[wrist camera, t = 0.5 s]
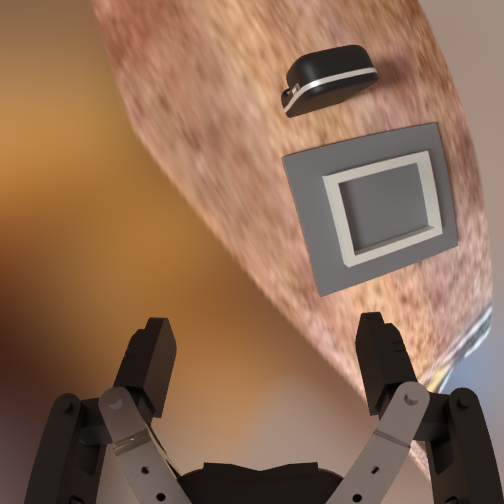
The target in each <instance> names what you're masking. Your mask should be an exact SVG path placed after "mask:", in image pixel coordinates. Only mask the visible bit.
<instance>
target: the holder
mask: <svg viewBox="0 0 504 504" xmlns="http://www.w3.org/2000/svg"><path fill="white" fill-rule="evenodd" d="M281 159H282V162H283V166H284V169H285V172H286V176H287V179H288V183H289V186H290V190H291V193H292V196H293V200H294V204H295V207H296V211H297V214H298V218H299V222H300V225H301V229H302V233H303V236H304V240H305V244H306V248H307V251H308V255H309V259H310V263H311V267H312V271H313V275H314V279H315V283H316V287H317V291H318V294H319V295H320V297H322V296H325V295H328V294H331V293H334V292H337V291H340V290H343V289H346V288H349V287H351V286H354V285H357V284H360V283H363V282H366V281H368V280H371V279H374V278H377V277H379V276H382V275H385V274H387V273H390V272H393V271H395V270H398V269H401V268H403V267H406V266H409V265H411V264H414V263H416V262H419V261H421V260H424V259H427V258H429V257H432V256H434V255H437V254H439V253H442V252H444V251H446V250H449V249H451V248H454V247H456V246H458V241H457V231H456V222H455V215H454V207H453V200H452V194H451V188H450V182H449V177H448V171H447V166H446V161H445V157H444V152H443V148H442V143H441V139H440V135H439V131H438V127H437V124H436V123H432V124H426V125H420V126H415V127H410V128H404V129H399V130H394V131H389V132H384V133H380V134H375V135H370V136H366V137H361V138H357V139H352V140H348V141H344V142H340V143H336V144H331V145H327V146H323V147H319V148H315V149H312V150H308V151H304V152H300V153H296V154H293V155H289V156H285V157H282V158H281Z"/></svg>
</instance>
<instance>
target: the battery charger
mask: <svg viewBox="0 0 504 504" xmlns="http://www.w3.org/2000/svg"><path fill="white" fill-rule="evenodd" d="M286 80H287V83H288V86H289V89H286V90H285V91H284V92H283V93H282V95H281V101H282V105H283V108H284V112H285V113H286V115H287V117H289V118H291V117H294V116H298V115H301V114H304V113H307V112H311V111H314V110H318V109H321V108H324V107H328V106H331V105H335V104H338V103H341V102H342V101H344V100H346V99H347V98H349V97H351V96H353V95H354V94H356V93H358V92H360V91H362V90H363V89H365V88H367V87H369V86H370V85H372V84H374V83H375V82H377V80H378V76H377V71H376V68H374V66H373V64H372V62H371V60H370V57H369V55H368V53H367V52H366V50H365V49H364V48H363V47H361V46H359V45H347V46H342V47H336V48H331V49H327V50H322V51H318V52H313V53H309V54H306V55H303V56H301V57H300V58H299V59H297V60H296V61H295V62H294V64H293V65H292V66H291V68H290V69H289V71H288V73H287V75H286Z"/></svg>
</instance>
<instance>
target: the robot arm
mask: <svg viewBox="0 0 504 504" xmlns="http://www.w3.org/2000/svg"><path fill="white" fill-rule="evenodd" d="M355 347H356V353H357V357H358V362H359V366H360V370H361V375H362V379H363V384H364V388H365V393H366V397H367V402H368V407H369V412H370V416H372V415H378V416H379V420H380V422H379V424H378V426H377V427H376V429H375V430H374V432H373V434H372V436H371V437H370V439H369V441H368V442H367V444H366V446H365V447H364V449H363V450H362V452H361V453H360V455H359V457H358V458H357V460H356V461H355V463H354V464H353V466H352V467H351V469H350V470H349V472H348V473H347V475H346V476H345V477H344V478H343V477H342V476H340V475H338V474H336V473H334V472H332V471H329V470H326V469H321V468H318V463H317V462H314V463H300V464H299V463H298V464H287V465H284V466H280V467H276V468H272V469H267V470H263V471H257V470H252V469H248V468H245V467H240V466H237V465H233V464H220V463H204V467H203V469H198V470H194V471H191V472H189V473H187V474H185V475H183V476H182V475H181V473H180V472H179V470H178V469H177V467H176V466H175V464H174V463H173V462H172V460H171V459H170V457H169V455H168V454H167V452H166V451H165V449H164V447H163V445H162V444H161V442H160V440H159V438H158V437H157V435H156V433H155V431H154V430H153V428H152V426H151V422H152V418H153V417H157V418H161V416H162V412H163V408H164V403H165V399H166V394H167V390H168V386H169V382H170V378H171V373H172V369H173V365H174V361H175V357H176V349H177V348H176V341H175V338H174V335H173V332H172V329H171V326H170V323H169V320H168V318H152V317H151V318H149V319H148V322H147V324H146V327H145V329H139V330H138V331H137V332H136V333H135V334H134V335H133V336H132V337H131V339H130V342H129V345H128V347H127V350H126V352H125V357H124V358H123V360H122V363H121V365H120V368H119V371H118V374H117V376H116V379H115V382H114V385H113V387H111V388H108V389H107V390H105V391H104V392H103V393H102V394H101V396H100V397H98V398H93V399H86V400H80V399H79V398H78V397H77V396H76V395H74V394H71V393H66V394H63V395H61V396H59V397H58V398H57V399H56V400H55V401H54V403H53V406H52V408H51V411H50V414H49V417H48V420H47V423H46V426H45V429H44V432H43V435H42V438H41V442H40V445H39V448H38V451H37V455H36V458H35V462H34V465H33V469H32V473H31V476H30V480H29V484H28V488H27V493H26V497H25V501H24V504H96V498H97V492H98V487H99V481H100V476H101V470H102V466H103V461H104V456H105V451H106V446H107V444H110V443H114V445H115V448H114V453H115V455H116V458H117V460H118V462H119V464H120V466H121V468H122V470H123V472H124V475H125V477H126V479H127V480H128V482H129V484H130V486H131V488H132V490H133V492H134V494H135V496H136V498H137V499H138V501H139V503H140V504H380V503H381V501H382V500H383V498H384V496H385V495H386V493H387V491H388V490H389V488H390V486H391V485H392V483H393V481H394V479H395V477H396V476H397V474H398V472H399V470H400V468H401V467H402V465H403V463H404V461H405V459H406V457H407V455H408V453H409V451H410V448H411V446H410V444H411V442H412V440H418V441H425V446H426V452H427V457H428V463H429V470H430V476H431V483H432V490H433V499H434V504H504V498H503V492H502V487H501V482H500V477H499V472H498V468H497V463H496V459H495V455H494V451H493V447H492V443H491V439H490V436H489V432H488V429H487V426H486V422H485V419H484V415H483V412H482V409H481V406H480V403H479V400H478V397H477V395H476V394H475V393H474V392H473V391H472V390H470V389H468V388H457V389H455V390H454V391H453V392H452V393H451V394H450V395H446V394H438V393H432V392H429V391H428V390H427V389H426V388H425V387H424V386H423V385H422V384H420V383H418V381H417V379H416V376H415V373H414V370H413V367H412V364H411V361H410V359H409V356H408V353H407V351H406V348H405V345H404V343H403V340H402V337H401V334H400V332H399V330H398V329H397V328H396V327H395V326H394V325H393V324H392V323H387V324H384V321H383V318H382V315H381V313H380V312H369V313H362V314H361V317H360V321H359V326H358V330H357V335H356V341H355Z"/></svg>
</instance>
